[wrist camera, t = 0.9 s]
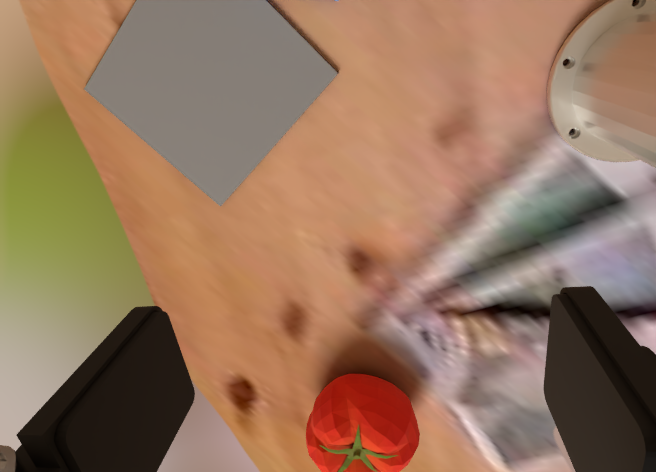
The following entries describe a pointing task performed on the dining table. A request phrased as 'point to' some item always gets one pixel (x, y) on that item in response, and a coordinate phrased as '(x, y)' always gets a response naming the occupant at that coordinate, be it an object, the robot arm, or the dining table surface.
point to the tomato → (362, 426)
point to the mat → (209, 84)
